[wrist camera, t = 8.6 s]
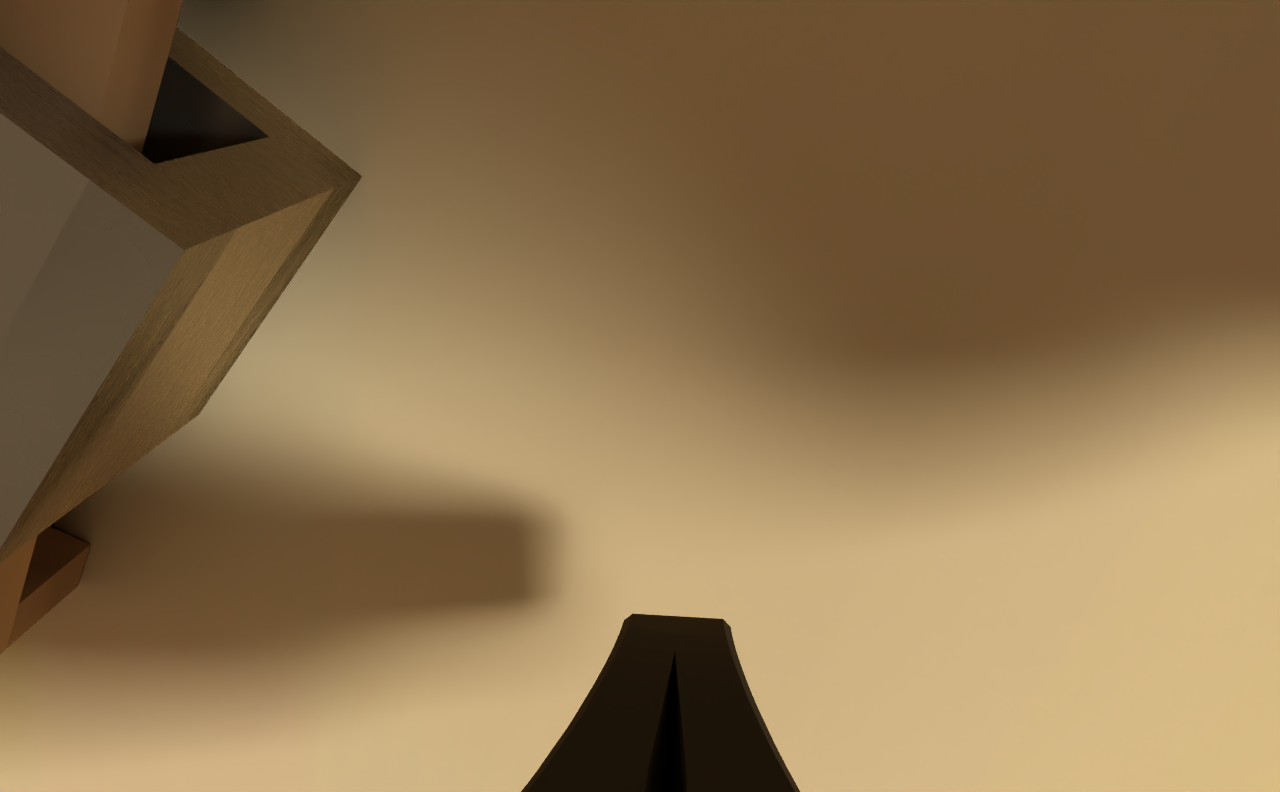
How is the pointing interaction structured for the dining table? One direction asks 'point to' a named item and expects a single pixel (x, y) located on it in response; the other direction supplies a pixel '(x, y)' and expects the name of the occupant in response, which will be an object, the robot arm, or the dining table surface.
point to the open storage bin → (137, 268)
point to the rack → (123, 102)
